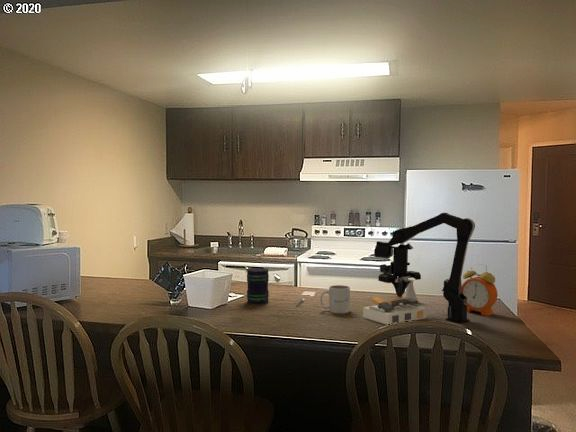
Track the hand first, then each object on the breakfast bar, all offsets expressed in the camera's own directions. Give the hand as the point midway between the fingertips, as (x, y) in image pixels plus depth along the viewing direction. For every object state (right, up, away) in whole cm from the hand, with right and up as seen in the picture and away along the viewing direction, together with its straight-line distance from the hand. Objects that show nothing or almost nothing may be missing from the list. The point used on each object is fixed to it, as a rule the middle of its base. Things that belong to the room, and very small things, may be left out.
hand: (399, 297), depth 193 cm
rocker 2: (-3, -2, -7) cm, 8 cm away
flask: (+10, -6, +23) cm, 26 cm away
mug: (-26, -7, +5) cm, 27 cm away
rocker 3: (+2, -2, -3) cm, 4 cm away
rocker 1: (-9, -2, -10) cm, 14 cm away
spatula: (-38, -6, +27) cm, 47 cm away
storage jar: (-59, -6, +21) cm, 63 cm away
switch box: (-3, -7, -7) cm, 10 cm away
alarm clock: (+33, -7, +2) cm, 34 cm away
